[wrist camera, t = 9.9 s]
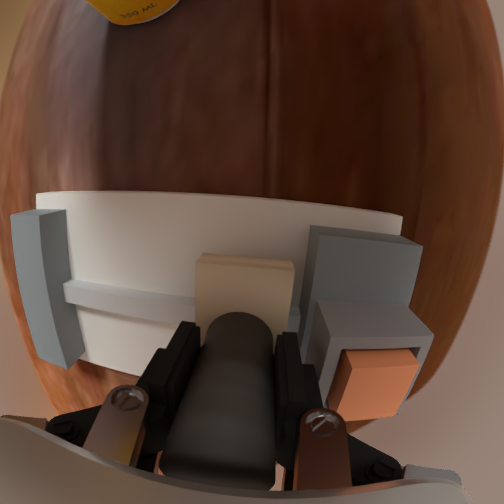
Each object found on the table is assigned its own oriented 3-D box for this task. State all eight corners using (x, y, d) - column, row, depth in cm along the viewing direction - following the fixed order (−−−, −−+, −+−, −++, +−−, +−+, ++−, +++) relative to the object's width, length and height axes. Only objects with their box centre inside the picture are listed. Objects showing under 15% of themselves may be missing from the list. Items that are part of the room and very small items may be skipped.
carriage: (207, 247, 13) (110, 369, 4) (290, 255, 13) (329, 397, 4) (205, 363, 15) (162, 504, 6) (274, 370, 15) (275, 519, 6)
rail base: (50, 191, 15) (-27, 205, 8) (391, 213, 14) (466, 239, 8) (69, 342, 18) (20, 391, 11) (349, 382, 17) (374, 457, 11)
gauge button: (332, 319, 12) (352, 368, 8) (388, 321, 11) (420, 364, 8) (320, 369, 12) (332, 421, 9) (372, 368, 12) (394, 415, 9)
